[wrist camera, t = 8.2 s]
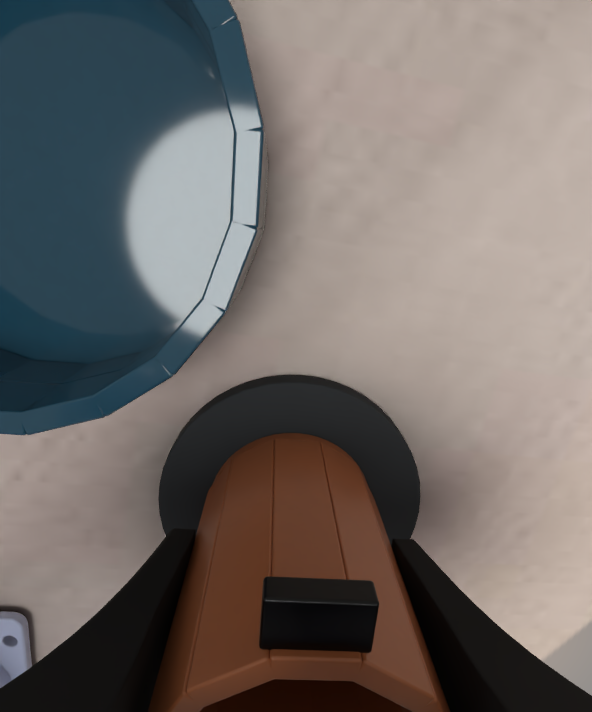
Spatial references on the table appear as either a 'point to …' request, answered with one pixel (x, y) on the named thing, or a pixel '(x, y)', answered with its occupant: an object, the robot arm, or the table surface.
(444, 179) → the table surface
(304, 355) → the table surface
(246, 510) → the small pot
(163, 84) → the blue shallow round container
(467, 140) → the table surface
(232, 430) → the disc
